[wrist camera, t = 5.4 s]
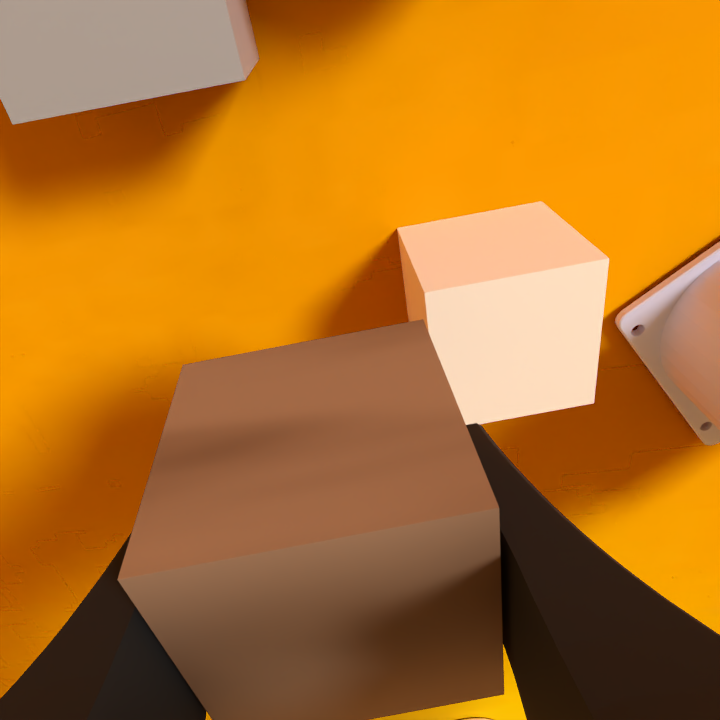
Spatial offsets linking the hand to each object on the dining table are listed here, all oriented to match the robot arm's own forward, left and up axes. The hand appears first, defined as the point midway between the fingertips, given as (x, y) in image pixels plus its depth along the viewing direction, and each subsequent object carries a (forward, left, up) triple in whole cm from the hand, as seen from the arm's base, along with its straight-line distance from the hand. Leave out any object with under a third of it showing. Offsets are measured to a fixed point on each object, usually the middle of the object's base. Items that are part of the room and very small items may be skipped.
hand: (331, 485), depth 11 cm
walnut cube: (0, 0, -2) cm, 2 cm away
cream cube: (-4, -4, -10) cm, 11 cm away
